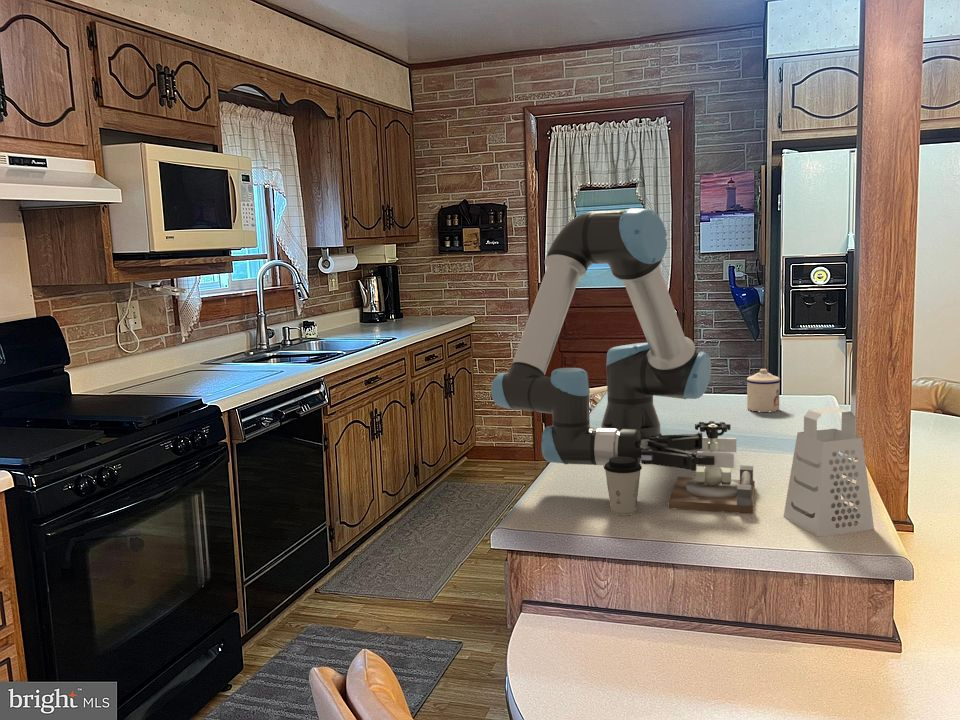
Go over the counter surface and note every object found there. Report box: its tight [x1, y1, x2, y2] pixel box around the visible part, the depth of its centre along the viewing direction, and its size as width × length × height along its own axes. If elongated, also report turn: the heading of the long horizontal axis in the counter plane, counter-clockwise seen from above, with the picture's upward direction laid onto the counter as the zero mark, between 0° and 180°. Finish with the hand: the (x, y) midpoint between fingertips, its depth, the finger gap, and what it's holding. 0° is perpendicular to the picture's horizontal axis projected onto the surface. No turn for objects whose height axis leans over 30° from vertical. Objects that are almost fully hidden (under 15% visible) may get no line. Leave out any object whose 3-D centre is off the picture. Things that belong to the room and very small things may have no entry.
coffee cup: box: [603, 456, 643, 516], centre depth 154 cm, size 7×7×10 cm
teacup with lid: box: [746, 368, 781, 413], centre depth 236 cm, size 12×9×12 cm
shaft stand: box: [667, 465, 756, 515], centre depth 160 cm, size 16×15×4 cm
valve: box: [694, 420, 732, 486], centre depth 159 cm, size 7×7×12 cm
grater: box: [783, 407, 875, 537], centre depth 143 cm, size 10×10×20 cm
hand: (735, 452), depth 157 cm, fingers open, 10 cm apart
